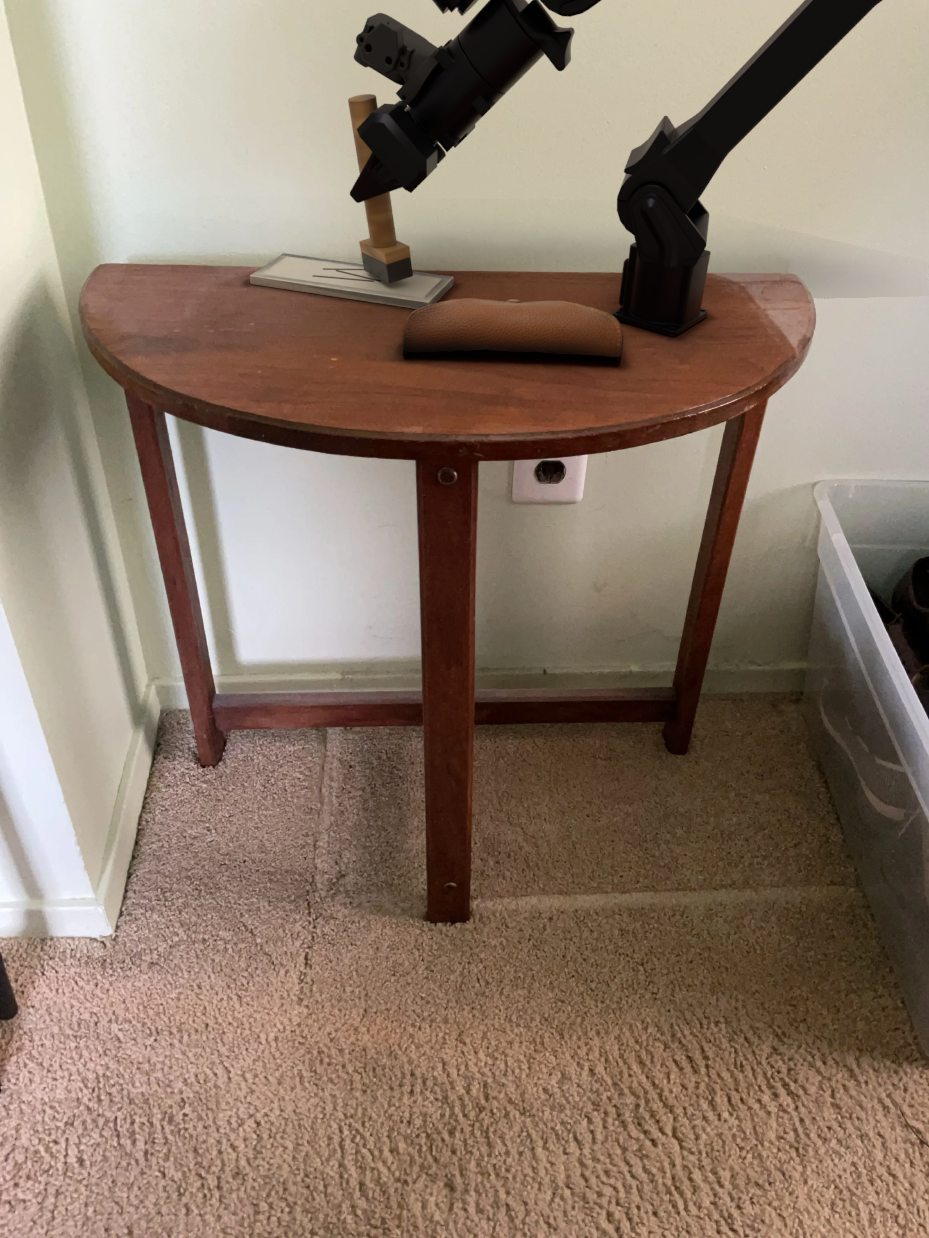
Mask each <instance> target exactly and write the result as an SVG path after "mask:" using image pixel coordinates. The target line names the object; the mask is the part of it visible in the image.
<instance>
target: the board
mask: <svg viewBox="0 0 929 1238" xmlns="http://www.w3.org/2000/svg"><path fill="white" fill-rule="evenodd" d="M412 271H413V276H412V277H409V278H406V279H403V280H400V281H397V282H394V283H391V284H389V283H387V282H385V281H383V280H381V279H379V278H377V277H375V276H374V275H372V274H370V273H368V272H366V271H364V267H363V263H358V262H351V261H344V260H343V261H342V260H336V259H329V258H322V257H316V256H308V255H300V254H293V253H286V252H283V253H281V254H279V255H278V256H277V257H275V258H274V259H272V260H270V261H269V262H268V263H267V264H265V265H263V266H262V267H261V268H259V269H258V270H256V271H255V272H253V273H251V274H250V275H249V281H250V285H256V286H264V287H269V288H276V289H283V290H290V291H296V292H301V293H309V294H316V295H322V296H328V297H334V298H335V297H336V298H340V299H341V298H342V299H349V300H355V301H362V302H367V303H368V302H369V303H375V304H380V305H388V306H394V307H401V308H409V309H415V310H416V309H419V308H422V307H425V306H428V305H431V304H435V303H438V301H439V300H440V299H441V298H443V296H444V295H445V294H446V293H447V292H449V290H450V289H451V288H452V287H453V286H454V276H451V275H441V274H436V273H427V272H420V271H414V270H412Z"/></svg>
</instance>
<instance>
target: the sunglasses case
mask: <svg viewBox="0 0 929 1238" xmlns="http://www.w3.org/2000/svg"><path fill="white" fill-rule="evenodd" d="M403 327H404V328H403V336H402V337H403V338H402V355H403V356H404V355H407V354H408V352H409V353H440V352H449V353H451V352H457V351H464V352H471V351H481V350H488V351H491V352H494V351H495V352H509V353H511V352H512V353H533V352H534V353H544V354H553V355H581V356H600V357H601V356H602V357H609V358H616V357H617V358H616V359H617V361H619V363H622V357H623V349H624V332H623V328H622V325H621V322H620V320H618V319H617V318H615V317H614V316H613V314H611V313H610V312H607V311H604V310H601V309H598V308H595V307H592V306H589V305H586V304H581V303H579V302H578V303H577V302H571V301H563V300H539V301H538V300H536V301H521V300H520V299H515V298H513V299H512V298H511V299H510V298H509V299H507V300H506V301H504V300H503V301H502V300H495V299H485V298H475V297H473V298H472V297H465V298H464V297H463V298H455V299H449V300H445V301H439V302H436V303H435V304H431V305H428V306H425V307H422V308H419V309H415V310H413V311H412V312H410V314H409V315H408V316H407V318H406V320H405V323H404V326H403Z"/></svg>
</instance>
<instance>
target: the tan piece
mask: <svg viewBox="0 0 929 1238" xmlns="http://www.w3.org/2000/svg"><path fill="white" fill-rule="evenodd" d="M347 103H348V109H349V115H350V121H351V128H352V134H353V139H354V140H353V141H354V147H355V153H356V160H357V166H358V172H359V174H360V173H361V171H362V170H363V168H364V166H365V164H366V162H367V161H368V159H369V157H370V155H371V153H372V151H371V150H370V149H369V147H368V146H367V145H366V144H365V143H364V141H363V140H362V139H361V138H360V137H359V134H358V132H357V128H358V127H359V126H360V125H361V124H362V123H363V122H364V121H365V119H366V118H367V117H368V116H369V115H370V114H371V113H372V112H373V111H375V110H376V109H377V108H379V106H378V101H377V95H376V94H372V93H371V94H370V93H368V94H367V93H366V94H357V95H353V96H351V97H349V98H348V99H347ZM363 203H364V209H365V217H366V222H367V229H368V234H369V235H368V236H369V237H368V238H365V239H362V240H359V241H358V243H359V249H360V252H361V260H362V264H363V267H364V271H366V272H368V273H370V274H372V275H374V276H375V277H377V278H379V279H381V280H383V281H385V282H387V283H389V284H391V283H394V282H397V281H400V280H403V279H406V278H409V277H412V276H413V271H414V270H413V265H412V258H411V257H412V255H411V248H410V246H409V245H408V244H406V243H404V242H401V241H399V240H397V233H396V227H395V221H394V214H393V205H392V199H391V191H390V192H387V193H384V194H382V195H379V196H376V197H374V198H371V199H368V200H365V201H363Z"/></svg>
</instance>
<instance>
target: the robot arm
mask: <svg viewBox="0 0 929 1238" xmlns="http://www.w3.org/2000/svg"><path fill="white" fill-rule="evenodd" d="M431 1H432V3H434V5H435V6H436V7H437V8H438V10H439V11H440V12H441V13H442V14H443V15H445V14H446V13H447V12H450V13H451V14H452V13H453V12H454V11H455V10H457V12H458V14H459V15H460V16H461V17H463V16H465V14H467V12H469V11H470V10H471V9H472V8H473V7H474V6H475V5H476V4H477V3H478V1H479V0H431ZM882 1H883V0H803V2H802V3H800V5H798V7H797V8H796V9H795V10H794V11H793V12H792V13H791V14H790V15H789V16H788V17H787V18H786V20H785V21H783V23H782V24H781V25H779V27H778V28H777V29H776V30H775V31H774V32H773V34H772V35H770V36H769V37H768V39H767V40H766V41H765V42H764V43H763V44H762V45H761V46H760V47H759V48H758V49H757V50H756V51H755V52H754V53H753V55H751V57H750V58H748V60H747V61H746V62H745V63H744V64H743V65H742V66H741V67H740V68H739V70H738V71H736V72H735V74H734V75H733V76H732V77H731V78H730V79H729V80H728V81H726V83H725V84H724V85H723V86H722V87H721V88H720V89H719V91H718V92H717V93H716V94H715V95H714V96H713V97H712V98H711V99H710V100H709V101H708V102H707V103H706V104H705V105H704V106H703V107H702V109H701V110H699V111H698V112H697V113H696V114H694V115H693V116H692V117H690V118H689V119H687V120H685V121H684V122H683V123H681V124H680V125H678V126H676V127H675V126H674V124H673V122H672V121H671V119H670V117H669V116H668V115H663V117H662V119H661V120H660V121H659V122H658V124H657V126H656V128H655V129H654V130H653V132H652V134H651V135H650V136H649V137H648V138H647V139H646V140H644V142H643V143H642V144H641V145H638V146H637V147H634V148H633V149H631V151H630V154H629V156H628V158H627V161H626V164H625V166H624V169H623V173H624V177H623V179H622V182H621V185H620V188H619V191H618V194H617V198H616V212H617V216H618V219H619V221H620V223H621V224H622V226H623V227H624V229H625V230H626V231H627V232H628V233H630V234H631V235H633V237H634V241H635V242H632V243H630V245H629V252H628V258H626V259H624V260H623V262H622V263H623V264H622V272H621V280H620V288H619V297H618V305H619V306H620V307H619V308H618V309H615V310H614V311H613V312H612V315H613V316H614V317H615V318H617V320H618V321H621V322H625V323H627V324H631V325H635V326H637V327H641V328H644V329H647V330H651V331H655V332H658V333H662V334H665V335H668V336H678V335H680V334H681V333H683V332H684V331H686V330H687V329H690V328H691V327H692V326H694V325H696V324H697V323H698V322H700V321H702V320H703V319H705V318H707V317H708V315H709V310H708V309H706V308H702V304H703V297H704V292H705V287H706V282H707V281H706V280H707V275H708V270H709V264H710V259H711V251H710V250H707V249H706V247H707V242H708V235H709V223H710V212H709V211H708V209H706V207H705V206H704V204H703V203H702V201H701V200H700V197H701V196H702V195H703V193H704V191H705V190H706V188H707V187H708V186H709V185H710V182H711V180H712V179H713V177H714V176H715V174H716V173H717V171H718V170H719V169H720V167H721V165H722V163H723V162H724V161H725V159H726V158H727V156H728V155H729V153H730V152H732V151H733V150H734V149H735V148H736V147H737V145H738V144H740V143H741V142H742V141H743V140H744V139H745V137H746V136H748V135H749V134H750V133H751V132H752V130H753V129H755V128H756V126H757V125H758V124H760V122H762V121H763V120H764V119H765V118H766V116H767V115H768V114H769V113H770V112H771V111H772V110H773V109H774V108H775V107H777V106H778V104H780V103H781V101H782V100H783V99H784V98H785V97H786V96H787V95H788V94H789V93H791V91H793V90H794V88H795V87H797V85H799V83H800V82H801V81H802V80H804V78H805V77H806V76H807V75H809V73H810V72H811V71H812V70H813V69H814V68H815V67H816V66H817V65H818V64H820V62H821V61H822V60H823V59H824V58H825V57H826V56H827V55H828V54H829V53H830V52H831V51H832V50H833V49H834V48H835V47H836V46H837V45H838V44H840V42H841V41H842V40H843V39H844V38H845V37H846V36H848V34H849V33H850V32H851V31H852V30H853V29H854V28H855V27H856V26H857V25H858V24H859V23H860V22H861V21H862V20H863V19H864V18H865V17H867V15H868V14H869V13H870V12H871V11H872V10H873V9H874V8H875V7H876V6H877V5H879V4H880V3H881V2H882ZM600 2H602V0H531V1H530V2H528V1H527V0H488V1H487V2H486V4H485V5H484V6H483V7H482V8H481V9H480V10H479V11H478V12H477V13H476V14H475V16H474V17H473V18H471V20H470V21H469V22H468V23H467V24H465V26H464V27H463V29H462V30H461V31H460V32H459V33H458V34H456V36H455V37H454V38H453V39H452V38H450V39H449V40H447V42H446V43H445V44H444V45H442V44H441V45H440V46H438V47H437V45H434V44H433V43H432V42H430V41H429V40H428V39H427V38H426V37H425V36H422V35H421V34H419V33H417V32H416V31H415V30H413V29H411V28H410V27H408V26H407V25H405V24H403V23H401V22H400V21H398V20H397V19H395V18H393V17H392V16H391V15H388V14H386V13H383V12H377V13H375V14H373V15H371V16H368V17H367V18H366V21H365V23H364V27H363V29H362V31H361V32H360V33H358V34H357V35H356V37H355V43H356V49H355V51H354V54H353V60H354V61H355V62H356V63H357V64H358V65H360V66H362V67H363V68H370V69H372V70H374V71H375V72H376V73H378V74H380V75H382V76H383V77H385V78H386V79H388V80H389V81H391V82H393V83H394V84H397V85H399V86H401V87H400V88H399V89H398V90H397V91H396V92H395V95H396V96H397V97H398V98H399V100H398V101H397V102H395V103H383V104H382V105H380V106H378V108H377V109H376V110H375V111H373V112H372V113H371V114H370V115H369V116H368V117H367V118H366V119H365V121H364V122H363V123H362V124H361V125H360V126H359V127H358V128H357V132H358V134H359V137H360V138H361V139H362V140H363V141H364V143H365V144H366V145H367V146H368V147H369V149H370V150H371V151H372V153H371V155H370V157H369V159H368V161H367V162H366V164H365V166H364V168H363V170H362V171H361V173H359V175H358V176H357V178H356V180H355V182H354V184H353V185H352V188H351V190H350V191H349V196H350V197H351V198H352V200H353V201H354V202H355V203H357V204H360V203H364V201H365V200H368V199H371V198H374V197H376V196H379V195H382V194H384V193H387V192H390V193H391V192H393V191H396V190H398V189H401V188H402V189H403V190H405V191H406V192H408V193H410V194H412V193H413V192H414V191H415V190H416V189H417V188H418V187H419V186H420V185H421V184H422V183H423V182H424V181H425V180H426V179H427V178H428V177H429V176H430V175H431V174H432V173H433V172H434V171H435V169H437V168H438V164H440V163H441V162H442V161H443V160H444V159H445V158H446V156H447V154H446V153H448V152H450V150H451V149H452V148H454V149H456V148H457V147H458V146H459V145H460V144H461V143H462V142H463V141H464V140H465V139H466V138H467V137H469V135H470V134H471V133H472V132H473V131H474V130H475V129H476V124H477V123H478V122H479V121H480V120H481V119H482V118H483V117H484V116H485V115H486V114H487V113H488V112H489V111H490V110H491V109H492V108H493V107H494V106H495V105H496V104H497V103H498V102H499V101H500V100H501V99H502V98H503V97H504V96H505V95H506V94H507V93H508V92H509V91H510V90H511V89H512V88H513V87H514V86H515V85H516V84H517V83H518V82H519V81H520V79H522V78H523V77H524V76H525V75H526V74H527V73H528V72H529V71H530V69H532V68H533V67H534V65H536V64H537V63H538V62H539V61H540V60H541V58H543V56H544V55H545V56H546V58H547V59H548V60H549V61H550V63H551V64H552V65H553V67H554V68H555V70H557V71H558V72H563V71H564V70H565V69H566V68H567V66H568V65H569V64H570V63H571V61H572V43H573V42H572V41H573V37H574V35H575V29H574V28H573V27H572V26H570V27H562V26H559V25H557V23H556V22H555V20H554V18H552V16H551V15H550V13H549V12H548V11H547V10H549V11H551V12H552V13H555V14H556V15H559V16H561V17H566V18H567V17H570V18H571V17H574V16H578V15H581V14H584V13H585V12H588V11H589V10H590V9H592V8H593V7H595V6H596V5H597V4H599V3H600ZM546 9H547V10H546Z"/></svg>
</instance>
